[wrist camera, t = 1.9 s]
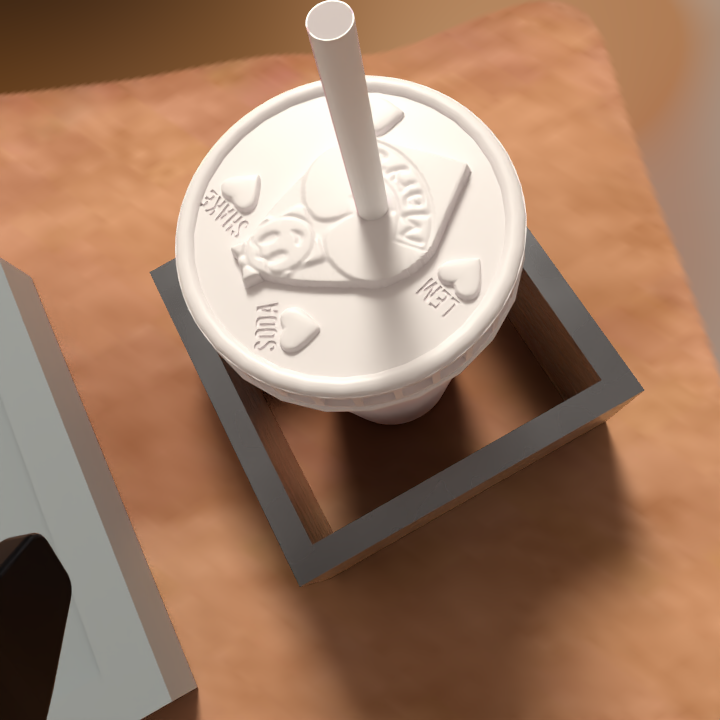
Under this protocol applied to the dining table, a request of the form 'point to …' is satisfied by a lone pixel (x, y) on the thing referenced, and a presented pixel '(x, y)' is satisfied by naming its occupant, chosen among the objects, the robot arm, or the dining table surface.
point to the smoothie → (352, 238)
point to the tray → (78, 527)
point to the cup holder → (449, 487)
